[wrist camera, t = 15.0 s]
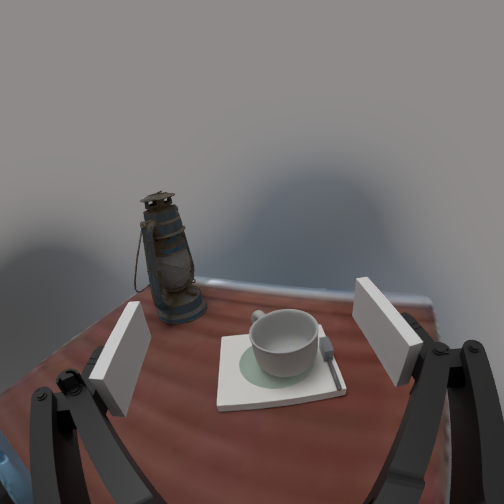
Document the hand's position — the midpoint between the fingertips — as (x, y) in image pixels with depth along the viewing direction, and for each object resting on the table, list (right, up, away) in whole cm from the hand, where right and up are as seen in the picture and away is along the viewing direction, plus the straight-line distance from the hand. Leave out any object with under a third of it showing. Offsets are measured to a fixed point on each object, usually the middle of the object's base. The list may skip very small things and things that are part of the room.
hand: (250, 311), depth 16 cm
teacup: (+5, -15, +31) cm, 35 cm away
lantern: (-18, -11, +54) cm, 58 cm away
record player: (+5, -17, +31) cm, 36 cm away
